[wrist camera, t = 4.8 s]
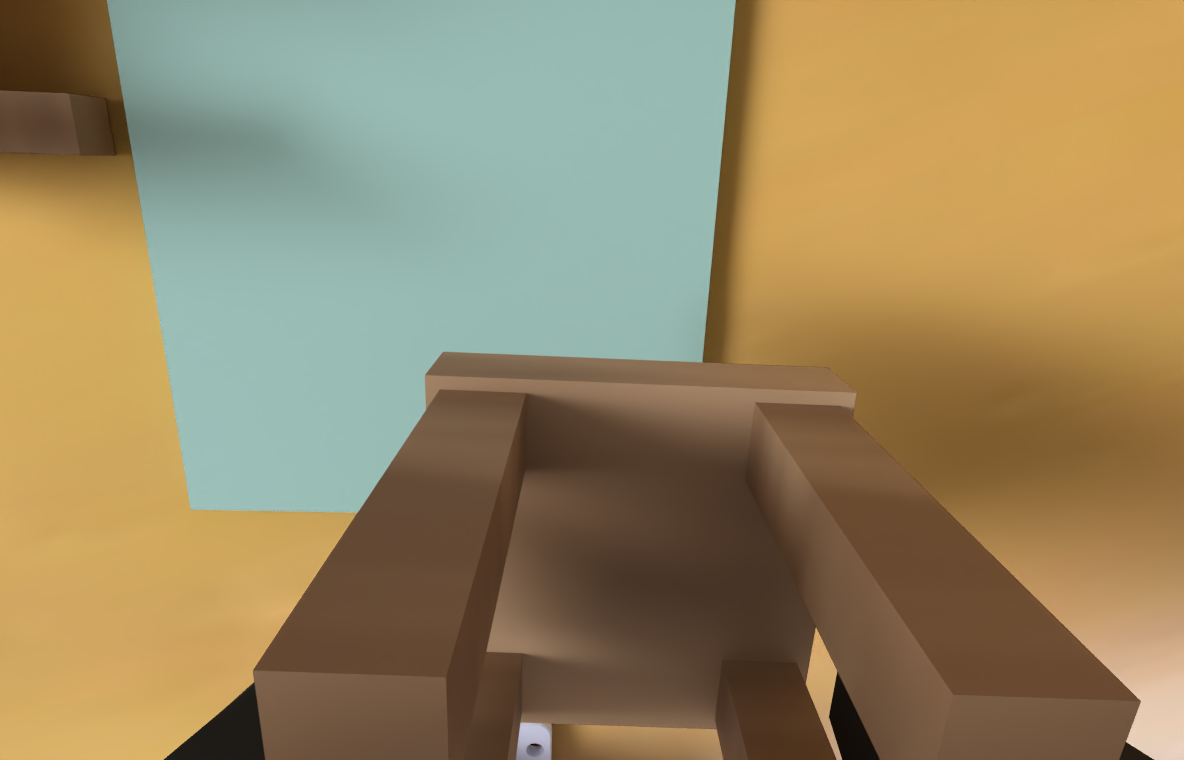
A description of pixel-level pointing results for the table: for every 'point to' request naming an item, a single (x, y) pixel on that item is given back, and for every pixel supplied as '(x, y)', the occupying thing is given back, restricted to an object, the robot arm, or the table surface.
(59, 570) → the table surface
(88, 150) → the toppled stool
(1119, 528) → the table surface
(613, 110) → the mat
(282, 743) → the upturned stool
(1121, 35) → the table surface
